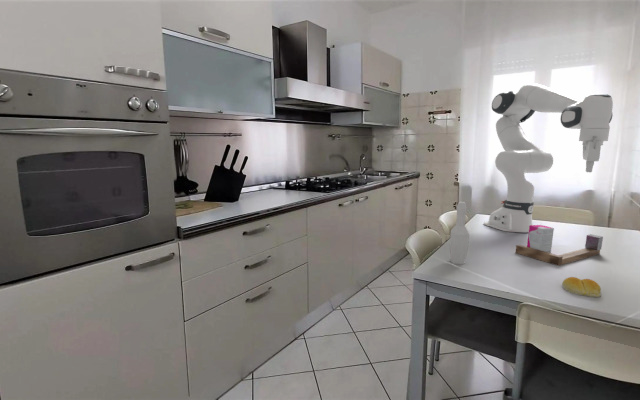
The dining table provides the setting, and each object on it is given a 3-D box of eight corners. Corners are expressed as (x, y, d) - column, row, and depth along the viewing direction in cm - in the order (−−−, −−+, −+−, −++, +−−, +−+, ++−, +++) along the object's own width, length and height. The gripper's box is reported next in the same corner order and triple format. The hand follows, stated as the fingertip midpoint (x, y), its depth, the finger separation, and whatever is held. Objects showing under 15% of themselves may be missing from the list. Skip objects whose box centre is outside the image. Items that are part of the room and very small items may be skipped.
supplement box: (550, 257, 127) (554, 227, 125) (538, 258, 125) (541, 228, 123) (537, 252, 132) (541, 224, 130) (525, 253, 131) (528, 225, 129)
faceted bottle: (445, 259, 124) (449, 200, 120) (463, 259, 124) (467, 200, 120) (451, 265, 118) (456, 203, 114) (470, 266, 117) (475, 204, 114)
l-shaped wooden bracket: (515, 252, 131) (517, 235, 130) (556, 243, 144) (558, 227, 142) (559, 266, 117) (562, 246, 116) (601, 254, 130) (603, 236, 128)
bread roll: (560, 283, 104) (562, 271, 103) (597, 290, 99) (599, 277, 98) (562, 293, 97) (564, 280, 96) (602, 301, 92) (604, 287, 91)
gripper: (607, 136, 121) (602, 174, 123) (601, 136, 137) (596, 170, 140) (585, 136, 124) (580, 173, 127) (581, 137, 141) (577, 170, 143)
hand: (588, 172), depth 133 cm, fingers closed
